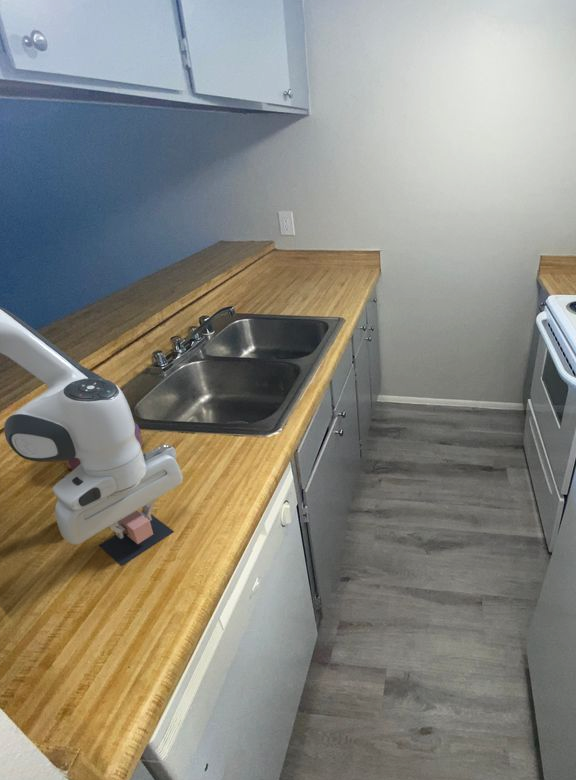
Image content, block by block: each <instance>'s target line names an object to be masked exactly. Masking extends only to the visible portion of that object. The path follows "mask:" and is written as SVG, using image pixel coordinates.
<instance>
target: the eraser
mask: <svg viewBox="0 0 576 780" xmlns="http://www.w3.org/2000/svg"><path fill="white" fill-rule="evenodd" d="M140 513H141V512H139V510H137V511H135V512H133V513H132V514H130V515H128V516H127V517H125V518H123V519H121V520H120V521H118V524H119V525H120V524H123V525H124V526H125V527H126V528H127V530H128V533H129V534H128V535H127V536H128V537H129V538H131V539H132V540H133V541H134V542H136V543H137V544H139V543H141V542H142V541H144V540H145V539H147V538H148V537H150V536H151V535H153V531H152V528H151V524H150V521H149V520H148V519H147V518H146V517H144V516H143V515H142V514H140ZM119 525H118V526H119Z"/></svg>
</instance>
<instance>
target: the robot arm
mask: <svg viewBox="0 0 576 780" xmlns="http://www.w3.org/2000/svg"><path fill="white" fill-rule="evenodd" d="M0 354H2V355H4V356H5V357H7V358H9V359H10V360H12V361H13V362H14V363H16V364H17V365H19V366H20V367H21V368H23V369H24V370H25V371H27V372H28V373H30V374H31V375H33V376H34V377H35V378H36V379H38V380H39V381H41V382H42V383H43V384H45V385H46V387H47V390H45V391H43V392H42V393H41V394H39V395H38V396H37V397H35V398H33V399H31V400H30V401H28V402H27V403H26V404H25V405H23V406H21V407H20V408H19V409H17V410H15V412H13V413H12V414H11V415H9V417H7V419H5V422H4V426H3V433H4V436H5V437H4V438H5V440H6V441H7V444H8V446H9V447H10V449H12V451H14V453H15V454H16V455H17V456H19V457H20V458H23V459H25V460H27V461H32V462H37V463H48V462H51V463H52V462H65V460H70V459H73V458H78V459H79V460H80V463H81V464H80V465H79V466H78V467H76V468H75V469H74V470H71V472H69V473H68V474H67V475H65V476H66V477H64V478H63V477H62V478H61V479H60V480H61V481H60V480H59V481H57V482H56V483H55V484H54V486H53V487H52V492H53V494H54V496H55V497H56V499H57V502H56V504H55V507H54V513H55V519H56V524H57V528H58V530H59V533H60V535H61V537H62V538H63V540H65V541H66V542H67V543H68V544H70V545H73V546H78V545H80V544H82V543H85V542H86V541H87V540H89V539H91V538H93V537H94V536H96V535H98V534H100V533H101V532H102V531H105V530H106V529H109V530H111V531H113V532H114V533H115V535H117V536H118V537H119V538H120V539H122V538H124V537H125V536H127V535H128V534H129V533H128V530H127V528H126V527H125V526H124V525H123V524H120V525H119V524H118V521H120V520H121V519H123V518H125V517H127V516H128V515H130V514H132V513H133V512H135V511H139V510H140V509H141V512H139V513H140V514H142V515H143V516H144V517H146V518H147V519H148V520H149V521H151V520H152V518H151V515H152V513H153V510H154V506H155V500H158V499H159V498H161V497H162V496H164V495H166V494H168V493H169V492H172V491H173V490H175V489H177V488H178V487H180V486H181V485H182V483H183V481H184V476H183V473H182V470H181V468H180V465H179V464H178V462H177V460H176V459H177V453H176V449H175V447H174V446H173V445H171V444H160V445H159V446H158V447H156V448H154V449H151V450H149V451H146V452H144V453H143V448H142V449H141V446H140V443H139V442H138V440H137V439H136V437H135V424H134V422H135V420H134V418H133V413H132V411H131V408H130V405H129V402H128V400H127V398H126V396H125V394H124V393H123V391H122V390H121V388H120V387H119V386H118V385H117V384H116V383H114V382H113V381H112V380H108V379H106V378H104V377H103V376H101V375H99V374H98V373H96V372H94V371H92V370H90V369H88V368H87V367H85V366H83V365H82V364H80V363H79V362H77V361H76V360H74V359H73V358H72V357H70V356H69V355H68V354H67V353H65V352H64V351H63V350H61V349H60V348H59V347H58V346H57V345H55V344H53V342H51V341H50V340H48V339H47V338H46V337H45V336H43V335H42V334H41V333H39V331H37V330H35V329H34V328H33V327H31V326H30V324H28V323H26V322H25V321H24V320H22V319H21V318H20V317H18V316H16V315H15V314H14V313H12V312H11V311H9V310H7V309H6V308H4V307H2V306H0Z"/></svg>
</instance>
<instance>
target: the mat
mask: <svg viewBox="0 0 576 780" xmlns="http://www.w3.org/2000/svg"><path fill="white" fill-rule="evenodd" d="M151 518H152V520H151V521H150V524H151V528H152V531H153V535H151V536H150V537H148V538H147V539H145V540H144V541H142V542H141V543H139V544H137V543H136V542H134V541H133V540H132V539H131V538H129V537H128V536H125V537H124V538H122V539H120V538H119V537H118V536H117V535H116V534H115V535H113V536H112V537H109V538H108V539H107V540H105V541H103V542H101V543H100V544H98V547H99V548H100V549H101V550H102V551H104V552H105V553H106V554H107V555H108V556H109V557H110V558H112V559H113V560H114V561H115V562H116V563H117V564H118V565H119V566H120V567H123V566H124V565H127V564H128V563H130V562H131V561H133V560H134V559H135V558H137V557H138V556H141V554H143V553H144V552H146V551H147V550H149V549H151V548H152V547H153V546H155V545H157V544H158V543H159V542H161V541H163V540H165V539H166V538H167V537H169V536H171V535H172V534H173V533H175V531H174V530H173V529H172V528H171V527H169V526H168V525H166V524H165V523H163V521H161V520H159V518H157V517H156V516H154V515H153V514H151Z"/></svg>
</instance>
